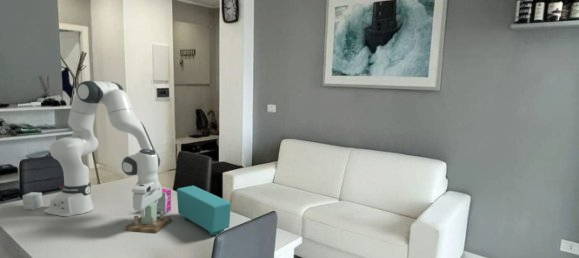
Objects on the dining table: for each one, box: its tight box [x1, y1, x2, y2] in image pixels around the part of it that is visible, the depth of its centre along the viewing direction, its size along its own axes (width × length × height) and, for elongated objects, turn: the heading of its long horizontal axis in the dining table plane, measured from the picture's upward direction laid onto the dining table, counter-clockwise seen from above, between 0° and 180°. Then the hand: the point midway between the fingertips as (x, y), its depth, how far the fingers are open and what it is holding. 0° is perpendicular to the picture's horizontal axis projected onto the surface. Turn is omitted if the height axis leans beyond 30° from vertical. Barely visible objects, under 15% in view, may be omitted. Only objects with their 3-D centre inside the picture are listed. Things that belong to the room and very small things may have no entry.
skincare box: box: [22, 191, 44, 210], centre depth 183 cm, size 6×6×7 cm
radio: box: [176, 185, 232, 236], centre depth 167 cm, size 34×10×15 cm, turn 44°
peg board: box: [124, 211, 172, 234], centre depth 165 cm, size 15×15×6 cm
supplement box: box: [157, 188, 172, 215], centre depth 183 cm, size 6×6×12 cm
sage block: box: [140, 202, 158, 225], centre depth 165 cm, size 5×5×9 cm
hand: (149, 212), depth 165 cm, fingers open, 8 cm apart
